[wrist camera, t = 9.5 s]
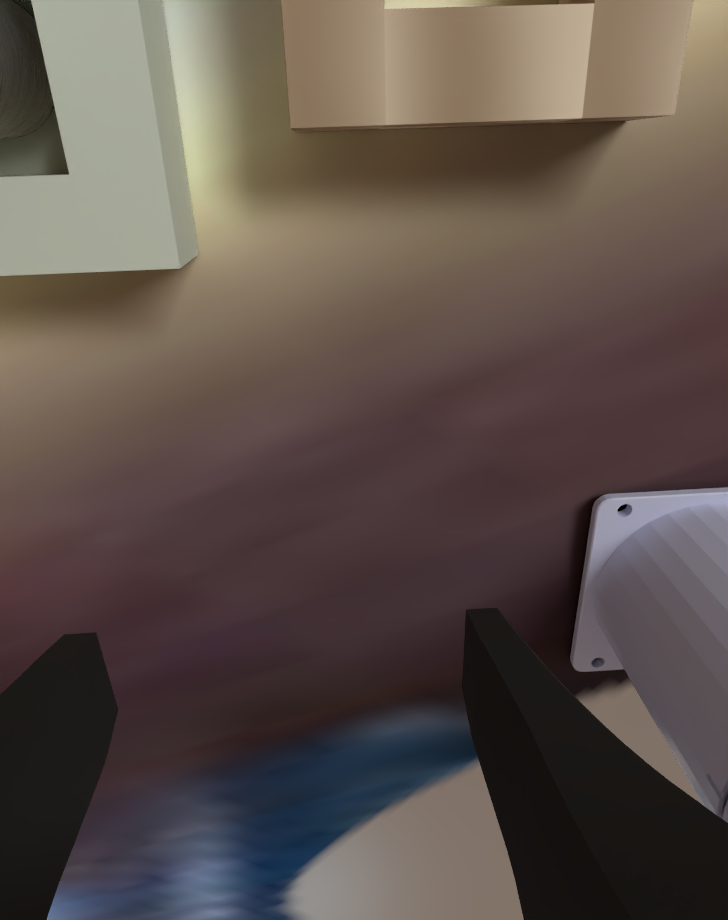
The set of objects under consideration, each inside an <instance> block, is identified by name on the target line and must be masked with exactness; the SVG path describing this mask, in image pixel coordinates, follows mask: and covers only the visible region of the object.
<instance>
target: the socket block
mask: <svg viewBox="0 0 728 920" xmlns="http://www.w3.org/2000/svg"><path fill="white" fill-rule="evenodd" d="M692 5H693V0H558V4H554V5H518V6H482V7H446V8H409V9H384V0H281V7H282V20H283V34H284V47H285V61H286V74H287V88H288V101H289V115H290V128H291V129H292V130H293V131H295V132H312V131H342V130H371V129H400V128H429V127H458V126H487V125H516V124H545V123H575V122H604V121H629V120H638V119H646V118H655V117H663V116H671V115H675V109H676V103H677V97H678V90H679V84H680V78H681V72H682V66H683V60H684V54H685V48H686V42H687V36H688V29H689V23H690V17H691V11H692Z"/></svg>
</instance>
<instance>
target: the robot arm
mask: <svg viewBox="0 0 728 920" xmlns="http://www.w3.org/2000/svg"><path fill="white" fill-rule="evenodd" d="M624 504H627V506H626V508H625V509H624V510H622V511H617V510H618V508H619V507H620V506H621V505H624ZM595 658H598V659H597V660H594V659H595ZM570 661H571V663H572V666H573V667H574V669H575V670H577V671H579V672H590V671H605V670H621V669H624V670H625V671H626V673H627V675H628V677H629V678H630V680H631V682H632V683H633V685H634V687H635V689H636V690H637V692H638V694H639V695H640V697H641V699H642V700H643V702H644V704H645V706H646V707H647V709H648V711H649V712H650V714H651V716H652V718H653V720H654V721H655V723H656V725H657V726H658V728H659V730H660V731H661V733H662V735H663V737H664V738H665V740H666V742H667V744H668V745H669V747H670V749H671V750H672V752H673V754H674V756H675V757H676V759H677V761H678V762H679V764H680V766H681V768H682V769H683V771H684V773H685V774H686V776H687V778H688V780H689V781H690V783H691V785H692V787H693V788H694V790H695V792H696V793H697V795H698V797H699V798H700V800H701V802H702V804H703V805H704V806H703V805H702V804H700V803H699V802H698V801H696V800H695V799H694V798H692V797H691V796H690V795H688V794H686V793H685V792H684V791H683V790H681V789H680V788H678V787H677V786H676V785H674V784H673V783H671V782H670V781H669V780H668V779H666V778H665V777H664V776H663V775H661V774H660V773H659V772H658V771H656V770H655V769H654V768H652V767H651V766H650V765H649V764H647V763H646V762H645V761H644V760H643V759H642V758H640V757H639V756H638V755H637V754H636V753H634V752H633V751H632V750H631V749H630V748H629V747H627V746H626V745H625V744H624V743H623V742H622V741H621V740H619V739H618V738H617V737H616V736H615V735H614V734H613V733H612V732H610V730H609V729H607V728H606V727H605V726H604V725H603V724H602V723H601V722H600V721H599V720H598V719H597V718H596V717H595V716H594V715H593V714H592V713H591V712H590V711H589V710H588V709H587V708H586V707H585V706H584V705H583V704H582V703H581V702H580V701H579V700H578V699H577V698H576V697H575V696H574V695H573V694H572V693H571V692H570V691H569V690H568V689H567V688H566V687H565V686H564V685H563V684H562V682H561V681H560V680H559V679H558V678H557V677H556V676H555V675H554V674H553V673H552V672H551V671H550V669H549V668H548V667H547V666H546V665H545V664H544V663H543V662H542V661H541V659H540V658H539V657H538V656H537V655H536V654H535V652H534V651H533V650H532V649H531V648H530V647H529V645H528V644H527V643H526V642H525V641H524V639H523V638H522V637H521V636H520V635H519V633H518V632H517V631H516V630H515V628H514V627H513V626H512V625H511V623H510V622H509V621H508V620H507V618H506V617H505V616H504V614H503V613H502V612H501V611H500V610H499V609H498V608H486V609H470V610H466V621H465V641H464V661H463V681H462V688H463V694H464V699H465V704H466V710H467V715H468V720H469V725H470V730H471V735H472V739H473V742H474V745H475V749H476V752H477V755H478V758H479V762H480V765H481V768H482V771H483V775H484V778H485V781H486V784H487V787H488V791H489V794H490V797H491V800H492V803H493V807H494V810H495V813H496V816H497V819H498V822H499V826H500V829H501V832H502V835H503V838H504V841H505V845H506V848H507V851H508V855H509V859H510V862H511V866H512V870H513V873H514V877H515V881H516V885H517V890H518V895H519V899H520V904H521V908H522V913H523V918H524V920H728V487H725V488H707V489H689V490H672V491H654V492H636V493H618V494H606V495H603V496H601V497H599V498H598V499H597V500H596V501H595V502H594V505H593V508H592V515H591V521H590V528H589V535H588V541H587V548H586V555H585V562H584V568H583V575H582V582H581V588H580V595H579V602H578V608H577V615H576V622H575V628H574V635H573V642H572V649H571V655H570ZM117 712H118V708H117V704H116V701H115V697H114V694H113V690H112V687H111V683H110V680H109V676H108V673H107V669H106V666H105V662H104V659H103V655H102V652H101V648H100V645H99V641H98V638H97V634H96V633H81V634H65V635H63V636H62V637H61V638H60V639H59V640H58V641H57V642H55V643H54V644H53V645H52V646H51V647H50V648H49V649H48V650H47V651H46V652H45V653H44V654H43V655H42V656H41V657H39V658H38V659H37V660H36V661H35V662H34V663H33V664H32V665H31V666H30V667H29V668H28V669H27V670H26V671H25V672H24V673H23V674H22V675H21V676H20V677H19V678H18V679H16V680H15V681H14V682H13V683H12V684H11V685H10V686H9V687H8V688H7V689H6V690H5V691H4V692H3V693H2V694H1V695H0V920H47V916H48V913H49V910H50V907H51V904H52V901H53V898H54V896H55V893H56V890H57V887H58V884H59V881H60V879H61V876H62V874H63V871H64V869H65V866H66V863H67V861H68V858H69V856H70V853H71V850H72V848H73V845H74V843H75V840H76V837H77V835H78V832H79V830H80V827H81V824H82V822H83V819H84V817H85V814H86V812H87V809H88V806H89V804H90V801H91V798H92V796H93V793H94V791H95V788H96V785H97V783H98V780H99V777H100V775H101V772H102V769H103V766H104V764H105V760H106V757H107V753H108V749H109V745H110V741H111V737H112V733H113V729H114V725H115V720H116V716H117Z"/></svg>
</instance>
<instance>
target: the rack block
mask: <svg viewBox="0 0 728 920" xmlns="http://www.w3.org/2000/svg"><path fill="white" fill-rule="evenodd" d="M31 2H32V6H33V11H34V16H35V20H36V25H37V29H38V34H39V38H40V43H41V48H42V52H43V57H44V61H45V66H46V70H47V75H48V80H49V84H50V89H51V93H52V98H53V103H54V107H55V112H56V116H57V121H58V125H59V130H60V135H61V139H62V144H63V148H64V153H65V157H66V162H67V167H68V171H69V174H45V175H18V176H0V276H13V275H37V274H61V273H85V272H109V271H133V270H157V269H180V268H181V267H183V266H184V265H185V264H187V263H188V262H189V261H191V260H192V259H193V258H194V257H196V256H197V255H198V248H197V241H196V234H195V227H194V220H193V213H192V206H191V199H190V192H189V185H188V178H187V171H186V164H185V157H184V150H183V143H182V136H181V129H180V122H179V115H178V108H177V101H176V94H175V87H174V80H173V73H172V66H171V59H170V52H169V45H168V38H167V31H166V24H165V17H164V10H163V3H162V0H31Z"/></svg>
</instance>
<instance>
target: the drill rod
mask: <svg viewBox="0 0 728 920" xmlns="http://www.w3.org/2000/svg"><path fill="white" fill-rule="evenodd" d="M53 106H54V103H53V98H52V93H51V89H50V84H49V80H48V75H47V70H46V66H45V61H44V57H43V52H42V48H41V43H40V38H39V34H38V29H37V25H36V21H35V20H34V19H33V18H32V17H31V16H30V14H29V13H28V12H27V11H25V10H24V9H23V8H22V7H21V6H20V5H19V4H17V3H16V2H14V1H13V0H0V138H15V137H20V136H23V135H26V134H29V133H30V132H32V131H34V130H36V129H37V128H38V127H39V126H41V125H42V124H43V122H44V121H45V120H46V119H47V118H48V116H49V114H50V113H51V111H52V109H53Z"/></svg>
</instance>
